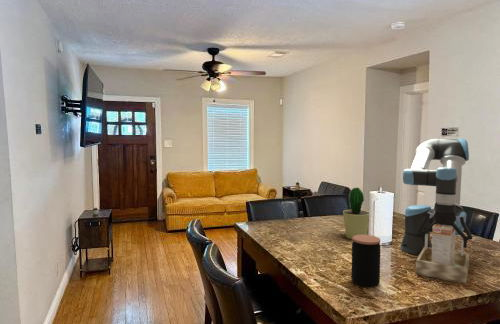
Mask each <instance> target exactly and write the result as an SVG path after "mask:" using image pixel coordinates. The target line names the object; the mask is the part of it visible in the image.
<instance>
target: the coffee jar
mask: <svg viewBox="0 0 500 324" xmlns="http://www.w3.org/2000/svg"><path fill="white" fill-rule="evenodd" d="M351 240H352V243H351V277H350V278H351V280H352V282H353V284H355V285H357V286H358V287H361V288H366V289H367V288H369V289H370V288H372V289H373V288H376V287H377V286H379V284H380V283H381V282H380V281H381V278H380V277H381V244H380V243H381V238H379V237H377V236H375V235H371V234H370V235H369V234H367V235H355V236H353V237H352V239H351Z"/></svg>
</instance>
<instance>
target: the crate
mask: <svg viewBox="0 0 500 324" xmlns="http://www.w3.org/2000/svg"><path fill="white" fill-rule="evenodd" d="M417 256H418V257H416V258H417V259H416V261H415V263H416V264H415V274H416V275H419V276H422V277H428V278H434V279H439V280H441V281H442V280H443V281H448V282H452V283H458V284H463V285H467V281H468V275H469V267H470V253H465V252H463V256H461V251H460V252H459V251H455V257H454V266H449V265H444V264H438V263H433V262H432V248H429V247H427V250H425V247H424V248H423V250H422V251H421V253H420V255H417Z"/></svg>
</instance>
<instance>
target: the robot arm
mask: <svg viewBox="0 0 500 324" xmlns="http://www.w3.org/2000/svg"><path fill="white" fill-rule="evenodd" d="M469 152H470V151H469V143H468V141H467V140H466V139H464V138H432V139H429V140H426V141H424V142H422V143H421V144H419V145H418V146H417V147H416V149H415V151H414V159H413V162H412V165H411V166H410V168H405V169H403V172H402V182H403V184H405V185H410V186H426V187H435V199H434V200H435V203H434V205H435V206H434V208H432V206H430V205H427V204H415V205H409V206H407V207H406V208H405V211H404V234H403V237H402V240H401V242H400V251H402V252H404V253H408V254H412V255H417V256H419V255H420V253H421V251H422V250H423V248H424V247H425V250H427V247H429V248H432V241H431V239H432V238H431V237H430V236H431V233H432V227H433V226H434V225H435V224H438V223H439V224H442V225H451V226H453V228H454V229H455V236H457V237H458V236H460V237H461V246H460V253H461V256H463V253H464V248H465V249H466V248H467V247H468V241H472V240H473V236H472V233H471V232H470V230H469V228H468V226H467V224H466V222H467V211H466V212H465V211H464V208H463V206H462V205H461V191H462V188H461V187H462V171H463V168H462V167H463V166H464V165H465V164H466V162H467V161H469V160H470V153H469ZM435 160H436V161H439V162H440V164H441V165H442V167H437V169H429V167H430V164H431V161H435ZM455 222H456V224H455Z"/></svg>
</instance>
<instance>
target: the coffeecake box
mask: <svg viewBox="0 0 500 324" xmlns="http://www.w3.org/2000/svg"><path fill="white" fill-rule="evenodd" d="M455 224H456V222H455ZM431 233H432V237H431V239H432V241H431V243H432V262H433V263H438V264H444V265H449V266H454V257H455V252H456V235H455V229H454V228H453V226H451V225H442V224H439V223H438V224H435V225H434V226H433V227H432V232H431Z"/></svg>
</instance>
